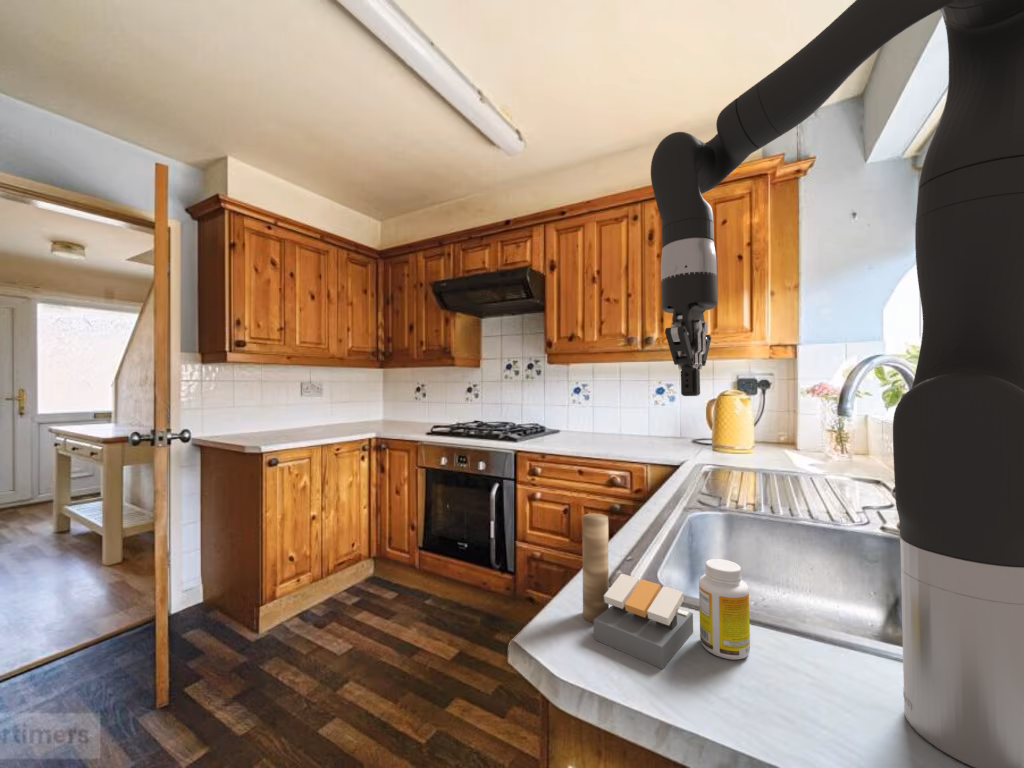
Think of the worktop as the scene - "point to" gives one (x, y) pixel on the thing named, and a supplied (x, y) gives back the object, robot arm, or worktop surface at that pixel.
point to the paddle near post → (621, 590)
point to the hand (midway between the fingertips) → (690, 395)
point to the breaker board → (643, 634)
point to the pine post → (595, 565)
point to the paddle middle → (642, 597)
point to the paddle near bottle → (665, 605)
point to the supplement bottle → (724, 610)
